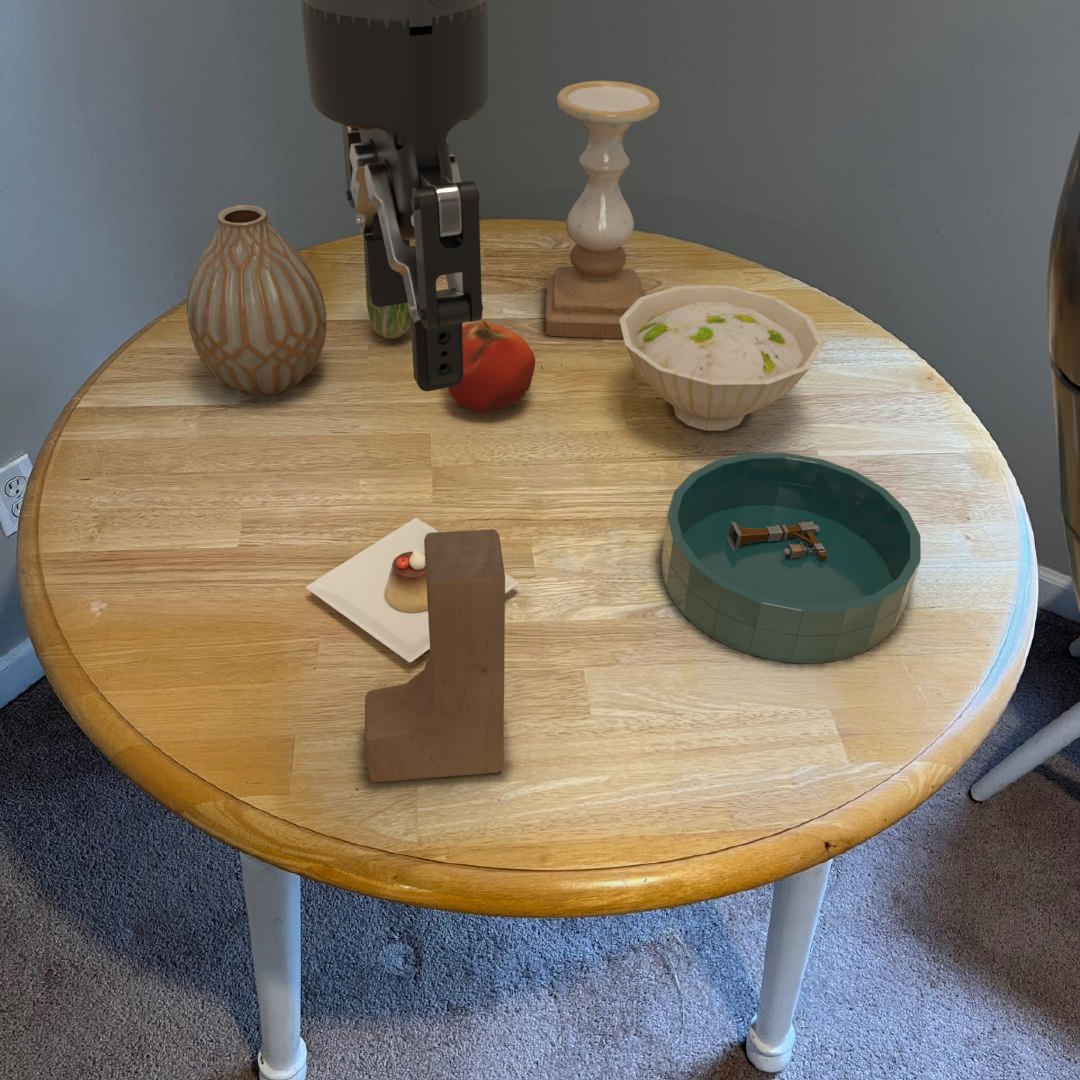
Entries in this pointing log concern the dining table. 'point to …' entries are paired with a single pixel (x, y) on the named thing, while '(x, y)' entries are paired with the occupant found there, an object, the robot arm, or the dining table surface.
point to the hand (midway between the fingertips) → (413, 341)
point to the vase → (255, 306)
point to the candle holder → (598, 215)
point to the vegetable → (389, 315)
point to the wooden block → (449, 671)
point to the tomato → (493, 367)
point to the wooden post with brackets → (776, 533)
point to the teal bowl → (776, 580)
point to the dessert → (387, 590)
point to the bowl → (718, 350)
